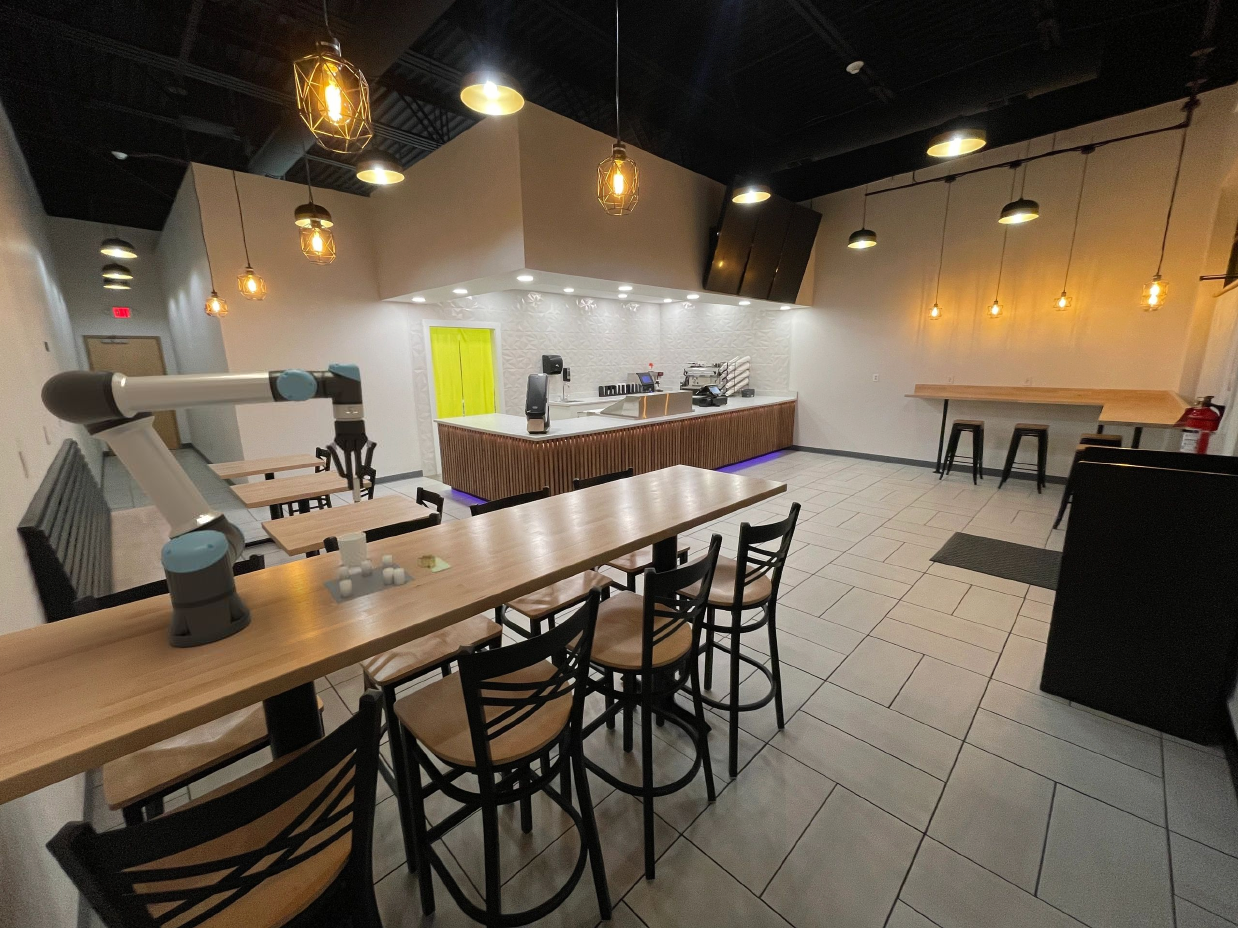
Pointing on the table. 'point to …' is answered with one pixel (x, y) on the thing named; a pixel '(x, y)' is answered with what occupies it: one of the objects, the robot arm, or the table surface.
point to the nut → (427, 561)
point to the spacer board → (366, 580)
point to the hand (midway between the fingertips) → (357, 500)
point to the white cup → (352, 548)
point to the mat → (440, 565)
